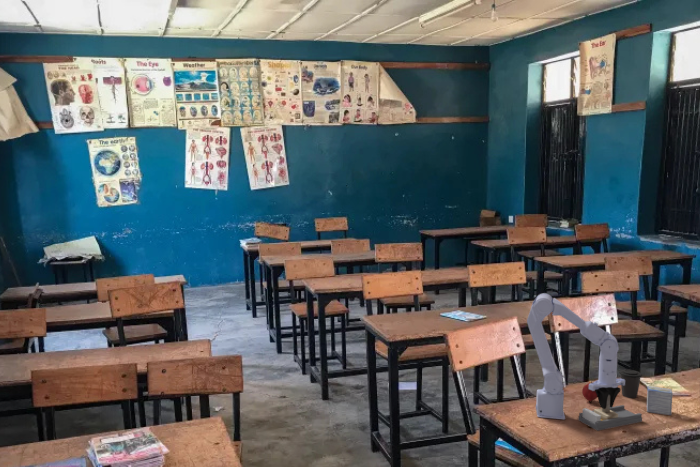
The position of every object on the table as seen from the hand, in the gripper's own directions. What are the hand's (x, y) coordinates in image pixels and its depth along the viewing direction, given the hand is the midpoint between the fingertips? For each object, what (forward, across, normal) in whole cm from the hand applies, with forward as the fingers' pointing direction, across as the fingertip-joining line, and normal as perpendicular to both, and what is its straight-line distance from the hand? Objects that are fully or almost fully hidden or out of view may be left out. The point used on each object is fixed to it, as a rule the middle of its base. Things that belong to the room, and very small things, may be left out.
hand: (606, 407), depth 200 cm
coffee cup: (+6, +27, +15) cm, 31 cm away
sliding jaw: (+4, 0, 0) cm, 4 cm away
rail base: (+5, +2, 0) cm, 6 cm away
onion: (+6, +8, +16) cm, 19 cm away
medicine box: (+6, +25, 0) cm, 25 cm away
